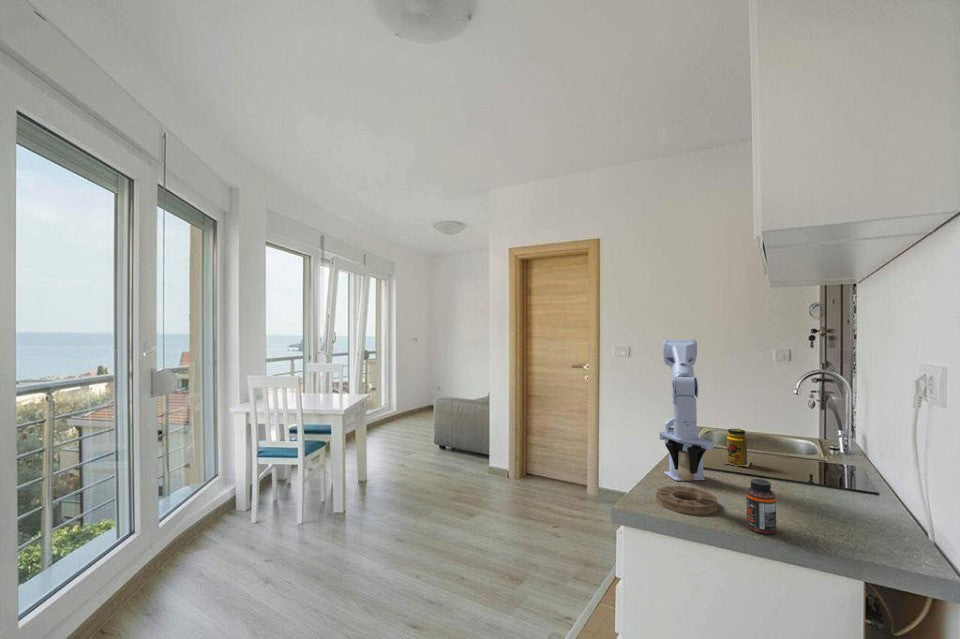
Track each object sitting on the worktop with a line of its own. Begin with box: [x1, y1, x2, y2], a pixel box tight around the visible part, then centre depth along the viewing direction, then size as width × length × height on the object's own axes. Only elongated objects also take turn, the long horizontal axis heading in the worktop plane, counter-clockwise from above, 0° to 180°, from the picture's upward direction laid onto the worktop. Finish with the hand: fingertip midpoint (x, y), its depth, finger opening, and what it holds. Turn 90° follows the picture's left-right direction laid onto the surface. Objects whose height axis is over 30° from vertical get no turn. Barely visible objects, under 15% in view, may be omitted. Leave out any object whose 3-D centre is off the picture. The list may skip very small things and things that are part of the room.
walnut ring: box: [655, 485, 719, 515], centre depth 122 cm, size 15×15×2 cm
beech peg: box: [678, 451, 695, 482], centre depth 123 cm, size 4×4×7 cm
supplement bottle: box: [745, 478, 777, 535], centre depth 106 cm, size 6×6×11 cm
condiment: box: [726, 428, 748, 465], centre depth 158 cm, size 7×8×12 cm
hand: (685, 471), depth 122 cm, fingers closed on beech peg, 4 cm apart
